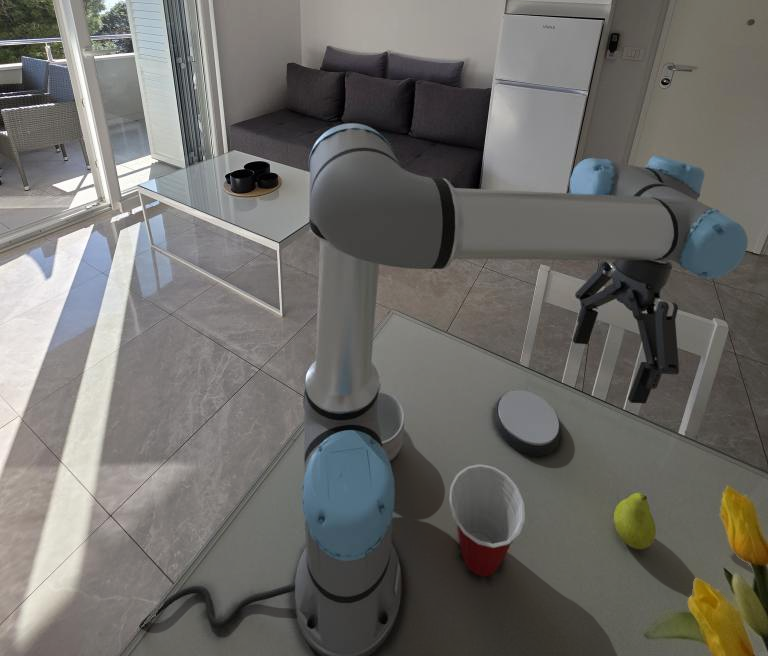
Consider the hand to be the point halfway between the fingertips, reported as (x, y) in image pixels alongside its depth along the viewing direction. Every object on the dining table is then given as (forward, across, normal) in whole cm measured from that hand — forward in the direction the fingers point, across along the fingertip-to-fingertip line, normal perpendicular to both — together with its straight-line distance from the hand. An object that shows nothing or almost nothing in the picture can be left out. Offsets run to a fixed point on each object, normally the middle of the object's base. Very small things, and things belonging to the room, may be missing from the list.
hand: (605, 369), depth 72 cm
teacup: (+29, +14, +31) cm, 45 cm away
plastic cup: (+29, -6, +19) cm, 35 cm away
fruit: (+24, -9, -6) cm, 26 cm away
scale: (+23, +12, +1) cm, 26 cm away
